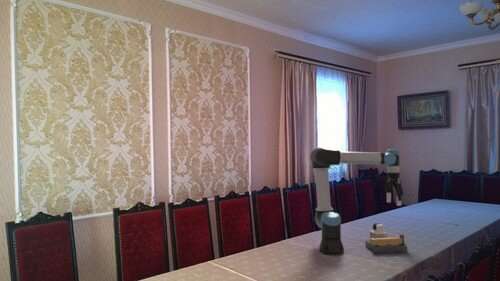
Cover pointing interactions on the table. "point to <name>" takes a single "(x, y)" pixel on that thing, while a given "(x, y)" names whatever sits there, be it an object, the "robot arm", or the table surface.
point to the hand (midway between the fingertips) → (393, 203)
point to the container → (378, 231)
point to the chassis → (386, 248)
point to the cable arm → (387, 240)
